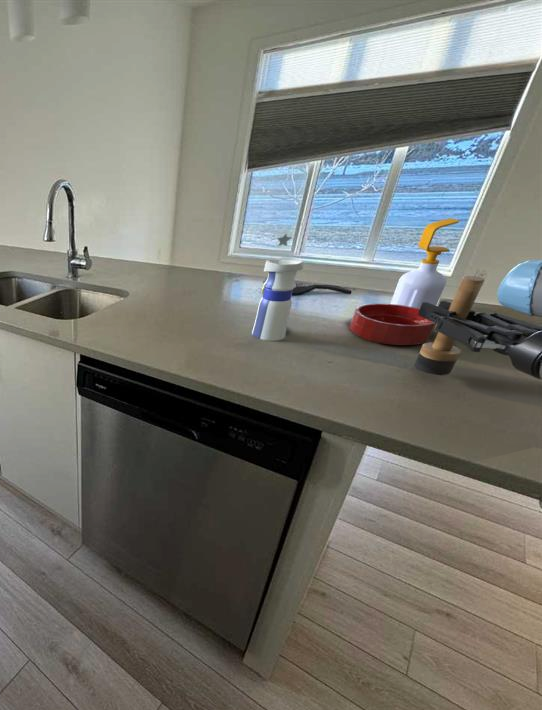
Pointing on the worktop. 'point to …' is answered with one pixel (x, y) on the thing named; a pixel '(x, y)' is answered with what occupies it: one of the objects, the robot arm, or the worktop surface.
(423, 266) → the soap bottle
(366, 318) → the red bowl
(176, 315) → the worktop surface
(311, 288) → the hairbrush
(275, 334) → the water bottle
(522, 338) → the robot arm
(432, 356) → the dish brush
